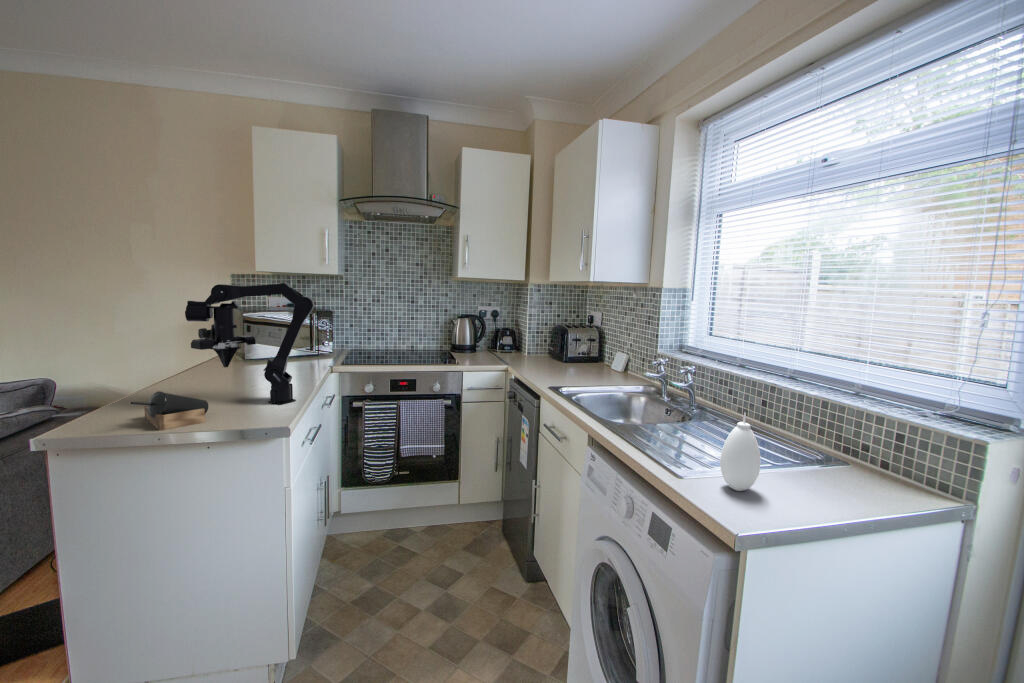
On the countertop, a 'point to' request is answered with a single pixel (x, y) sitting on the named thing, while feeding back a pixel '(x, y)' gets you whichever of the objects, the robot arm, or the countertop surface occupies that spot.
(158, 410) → the drinking cup
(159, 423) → the wooden tray
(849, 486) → the countertop surface
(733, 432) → the sauce bottle
